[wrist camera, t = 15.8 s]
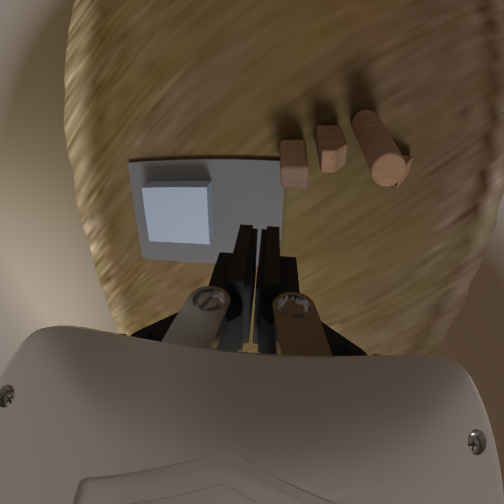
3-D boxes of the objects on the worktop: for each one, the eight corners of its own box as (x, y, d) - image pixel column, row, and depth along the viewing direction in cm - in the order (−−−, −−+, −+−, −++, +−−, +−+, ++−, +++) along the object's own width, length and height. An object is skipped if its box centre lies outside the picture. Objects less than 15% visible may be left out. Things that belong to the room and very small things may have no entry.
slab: (211, 180, 36) (150, 181, 36) (206, 187, 33) (141, 187, 34) (214, 234, 40) (157, 231, 40) (209, 244, 37) (149, 241, 38)
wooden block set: (282, 163, 37) (281, 216, 31) (277, 107, 30) (276, 150, 24) (404, 166, 34) (428, 217, 28) (416, 114, 27) (451, 159, 21)
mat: (129, 162, 35) (128, 162, 35) (285, 160, 34) (285, 161, 34) (144, 257, 44) (143, 258, 43) (278, 265, 42) (278, 267, 42)
